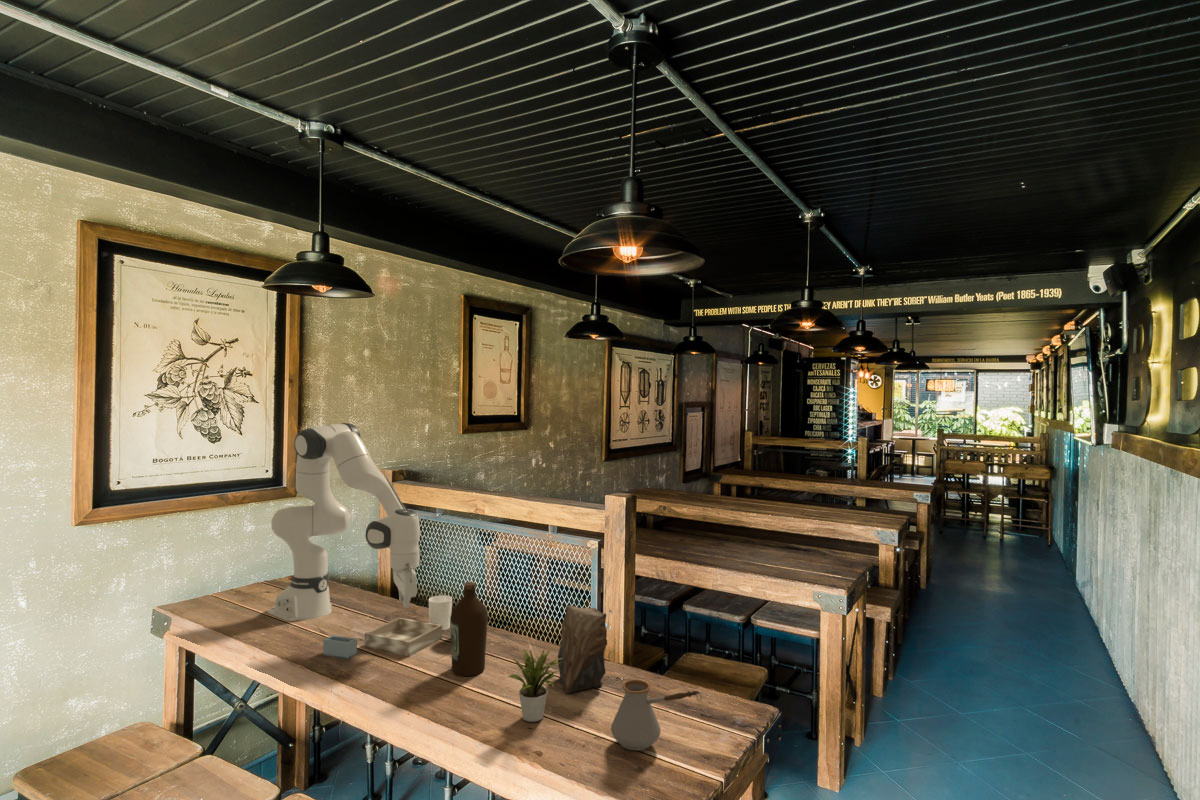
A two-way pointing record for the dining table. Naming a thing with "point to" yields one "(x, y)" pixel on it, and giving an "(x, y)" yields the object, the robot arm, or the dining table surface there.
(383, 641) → the beige shallow tray
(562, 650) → the brown rock
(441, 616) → the white cup
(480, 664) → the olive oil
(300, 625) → the dining table surface
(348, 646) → the box
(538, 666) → the house plant
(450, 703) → the dining table surface
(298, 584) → the robot arm
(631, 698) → the coffee pot
